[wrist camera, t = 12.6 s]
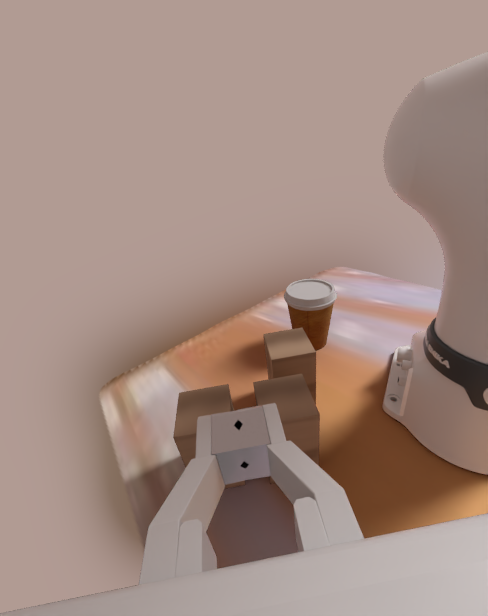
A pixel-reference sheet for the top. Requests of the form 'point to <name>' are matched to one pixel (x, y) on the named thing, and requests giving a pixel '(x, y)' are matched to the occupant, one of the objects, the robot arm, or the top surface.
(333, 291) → the disposable coffee cup
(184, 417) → the plain walnut block
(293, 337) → the walnut block numbered 2
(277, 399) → the walnut block numbered 1
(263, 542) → the top surface
